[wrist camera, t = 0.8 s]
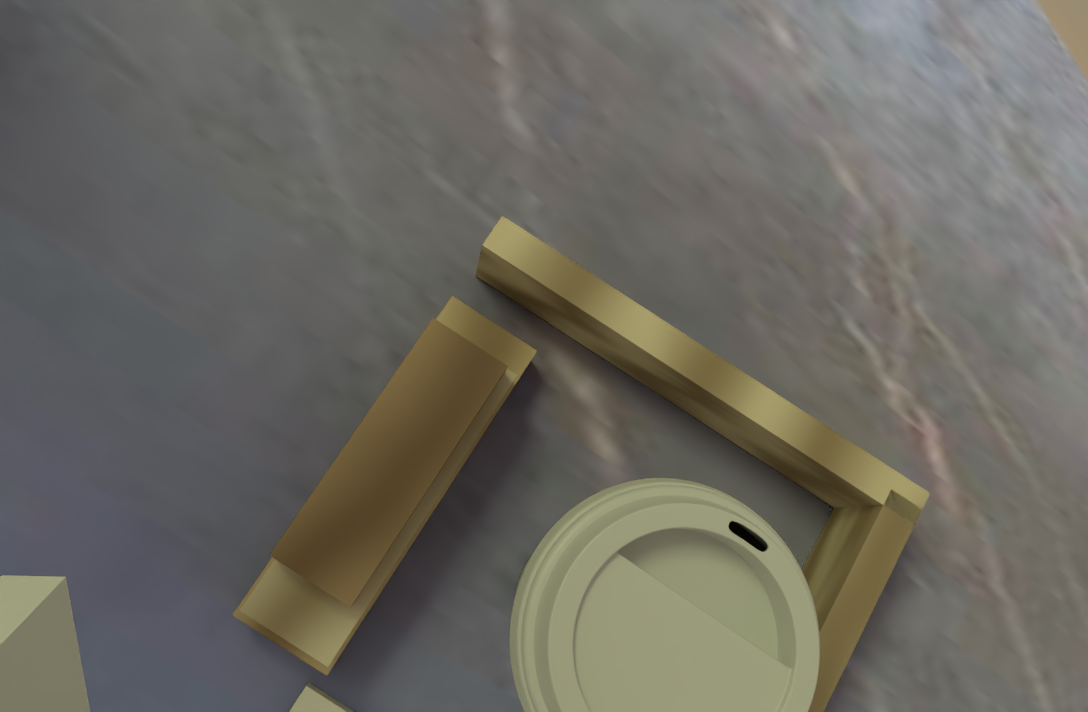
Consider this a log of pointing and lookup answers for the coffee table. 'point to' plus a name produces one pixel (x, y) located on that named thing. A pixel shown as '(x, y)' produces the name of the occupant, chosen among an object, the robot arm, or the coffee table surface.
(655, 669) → the coffee cup
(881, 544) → the frame
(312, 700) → the ceramic tile
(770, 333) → the coffee table surface
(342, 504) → the offcut stack
